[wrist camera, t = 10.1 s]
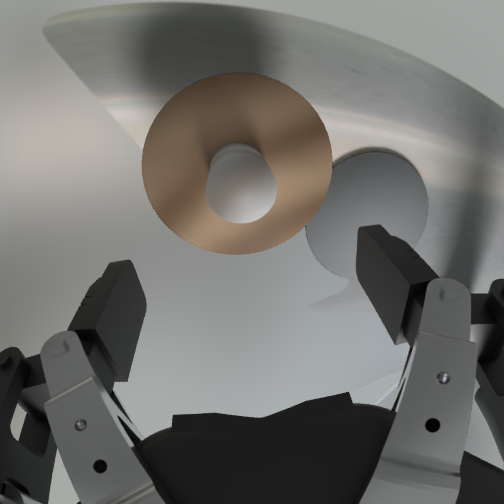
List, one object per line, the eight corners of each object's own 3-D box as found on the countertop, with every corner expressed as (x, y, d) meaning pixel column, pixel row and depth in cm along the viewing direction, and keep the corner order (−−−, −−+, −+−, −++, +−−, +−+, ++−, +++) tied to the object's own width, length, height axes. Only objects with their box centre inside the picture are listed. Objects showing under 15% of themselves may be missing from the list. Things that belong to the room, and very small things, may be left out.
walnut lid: (358, 183, 24) (393, 212, 18) (223, 277, 27) (224, 323, 22) (256, 37, 17) (267, 18, 12) (109, 158, 21) (77, 180, 16)
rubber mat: (439, 230, 37) (441, 232, 37) (344, 296, 42) (345, 299, 41) (395, 125, 30) (398, 126, 29) (277, 206, 34) (278, 208, 34)
